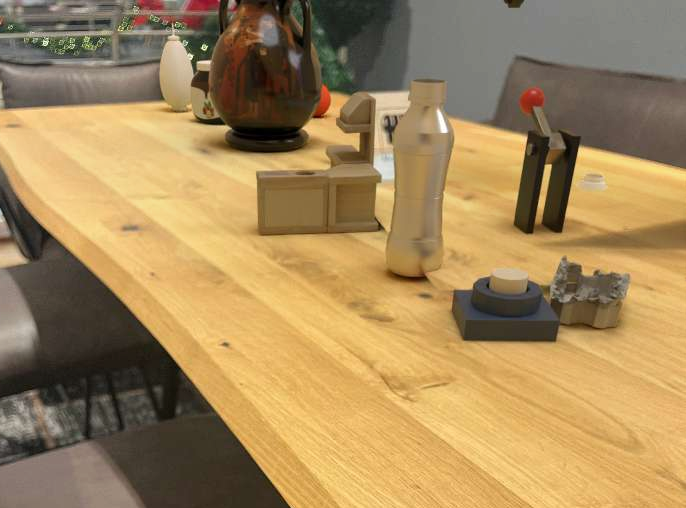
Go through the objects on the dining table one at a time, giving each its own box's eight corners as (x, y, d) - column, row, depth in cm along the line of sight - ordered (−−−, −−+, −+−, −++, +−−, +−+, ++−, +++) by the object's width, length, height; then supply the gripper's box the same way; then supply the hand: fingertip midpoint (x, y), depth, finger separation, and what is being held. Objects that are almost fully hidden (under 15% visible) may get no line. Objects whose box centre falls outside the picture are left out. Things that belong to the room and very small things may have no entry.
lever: (513, 104, 101) (521, 81, 98) (535, 104, 101) (544, 81, 99) (538, 167, 96) (547, 145, 93) (561, 167, 96) (571, 145, 93)
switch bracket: (500, 231, 104) (516, 128, 96) (549, 229, 105) (568, 127, 97) (520, 247, 98) (539, 139, 91) (571, 244, 99) (593, 137, 92)
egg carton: (554, 289, 86) (561, 252, 83) (624, 299, 84) (634, 262, 81) (539, 322, 78) (547, 283, 75) (616, 334, 75) (627, 294, 73)
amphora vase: (339, 140, 154) (344, -28, 138) (288, 160, 139) (287, -26, 122) (248, 130, 162) (243, -30, 146) (190, 148, 147) (176, -29, 130)
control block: (536, 311, 80) (543, 273, 78) (556, 342, 74) (564, 302, 71) (451, 309, 80) (455, 272, 78) (463, 341, 74) (468, 301, 71)
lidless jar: (612, 199, 119) (597, 191, 123) (616, 179, 117) (601, 171, 121) (582, 200, 118) (568, 192, 122) (586, 179, 116) (572, 172, 120)
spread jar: (187, 121, 170) (182, 61, 164) (220, 115, 178) (217, 57, 171) (228, 127, 165) (225, 66, 158) (260, 120, 173) (259, 61, 166)
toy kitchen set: (247, 199, 116) (243, 87, 107) (354, 196, 118) (359, 86, 109) (260, 235, 101) (257, 109, 92) (383, 231, 103) (391, 107, 95)
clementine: (319, 112, 182) (320, 79, 178) (339, 116, 178) (341, 82, 174) (294, 116, 178) (294, 81, 174) (314, 120, 174) (315, 84, 170)
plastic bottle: (434, 287, 86) (455, 86, 74) (376, 279, 88) (388, 82, 76) (446, 269, 91) (468, 79, 79) (391, 262, 93) (404, 75, 81)
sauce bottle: (181, 114, 178) (173, 24, 167) (156, 111, 181) (147, 22, 171) (202, 110, 183) (197, 22, 173) (177, 107, 186) (170, 20, 176)
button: (521, 284, 76) (524, 267, 75) (529, 297, 74) (532, 279, 72) (485, 284, 76) (488, 266, 75) (492, 297, 74) (495, 279, 72)
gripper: (459, -137, 99) (478, -21, 96) (554, -134, 101) (576, -21, 98) (442, -84, 107) (460, 25, 104) (531, -82, 108) (551, 25, 106)
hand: (516, 3), depth 101 cm, fingers closed
